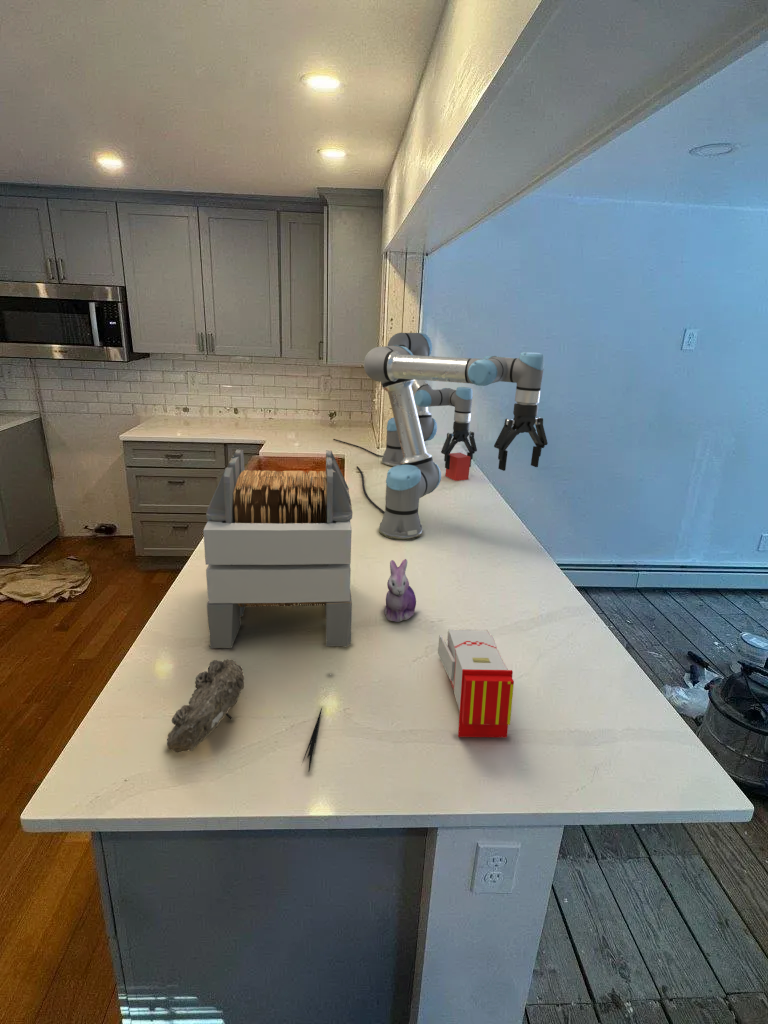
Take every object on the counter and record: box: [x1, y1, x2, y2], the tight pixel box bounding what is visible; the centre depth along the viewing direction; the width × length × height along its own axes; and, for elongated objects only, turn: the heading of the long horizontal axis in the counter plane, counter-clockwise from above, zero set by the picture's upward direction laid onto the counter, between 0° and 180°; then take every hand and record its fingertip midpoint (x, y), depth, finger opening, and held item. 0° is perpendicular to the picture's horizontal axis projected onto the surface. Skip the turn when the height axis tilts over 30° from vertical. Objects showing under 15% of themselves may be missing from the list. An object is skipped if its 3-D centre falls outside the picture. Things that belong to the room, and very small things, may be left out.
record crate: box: [202, 448, 353, 650], centre depth 139 cm, size 34×33×41 cm
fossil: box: [166, 658, 245, 754], centre depth 106 cm, size 22×10×15 cm
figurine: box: [384, 558, 417, 623], centre depth 145 cm, size 9×10×15 cm
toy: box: [437, 628, 515, 738], centre depth 117 cm, size 12×13×30 cm
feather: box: [301, 673, 332, 771], centre depth 108 cm, size 2×28×2 cm
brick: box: [445, 452, 471, 482], centre depth 269 cm, size 9×7×11 cm
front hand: (518, 468), depth 187 cm, fingers open, 13 cm apart
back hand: (457, 467), depth 269 cm, fingers open, 11 cm apart
